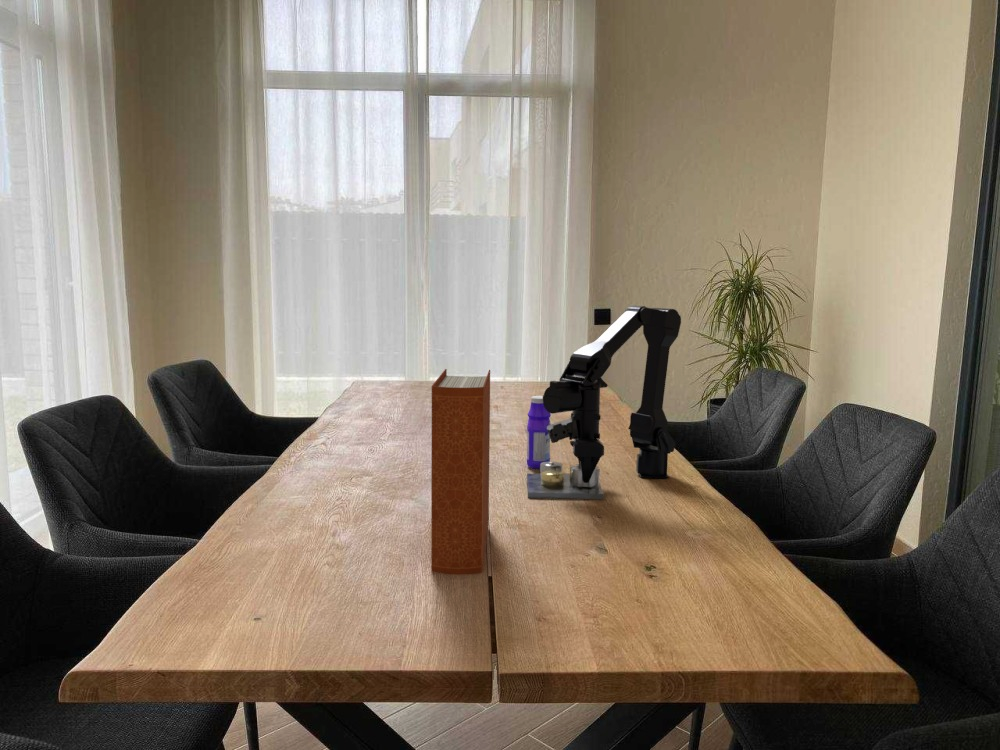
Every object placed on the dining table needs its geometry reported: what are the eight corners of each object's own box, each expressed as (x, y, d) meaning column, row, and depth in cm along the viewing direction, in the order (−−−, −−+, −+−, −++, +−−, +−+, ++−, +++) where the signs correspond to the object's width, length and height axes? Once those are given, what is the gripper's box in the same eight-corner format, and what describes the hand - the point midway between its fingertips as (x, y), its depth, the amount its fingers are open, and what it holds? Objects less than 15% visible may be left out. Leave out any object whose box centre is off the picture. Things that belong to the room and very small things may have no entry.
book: (444, 527, 149) (445, 368, 145) (488, 528, 149) (490, 369, 145) (430, 574, 127) (430, 387, 123) (481, 575, 126) (483, 388, 123)
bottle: (547, 470, 193) (549, 399, 191) (524, 469, 194) (525, 398, 192) (551, 463, 200) (553, 395, 198) (529, 462, 201) (530, 394, 199)
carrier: (595, 479, 185) (596, 460, 184) (603, 499, 169) (604, 478, 169) (526, 478, 185) (527, 459, 185) (528, 498, 169) (528, 477, 169)
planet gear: (597, 479, 179) (597, 464, 179) (600, 487, 173) (600, 471, 172) (568, 479, 179) (569, 464, 179) (570, 486, 173) (571, 471, 172)
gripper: (547, 401, 183) (546, 467, 185) (551, 416, 165) (549, 489, 167) (596, 401, 183) (594, 468, 185) (605, 416, 164) (603, 490, 167)
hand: (584, 478), depth 176 cm, fingers closed on planet gear, 6 cm apart
